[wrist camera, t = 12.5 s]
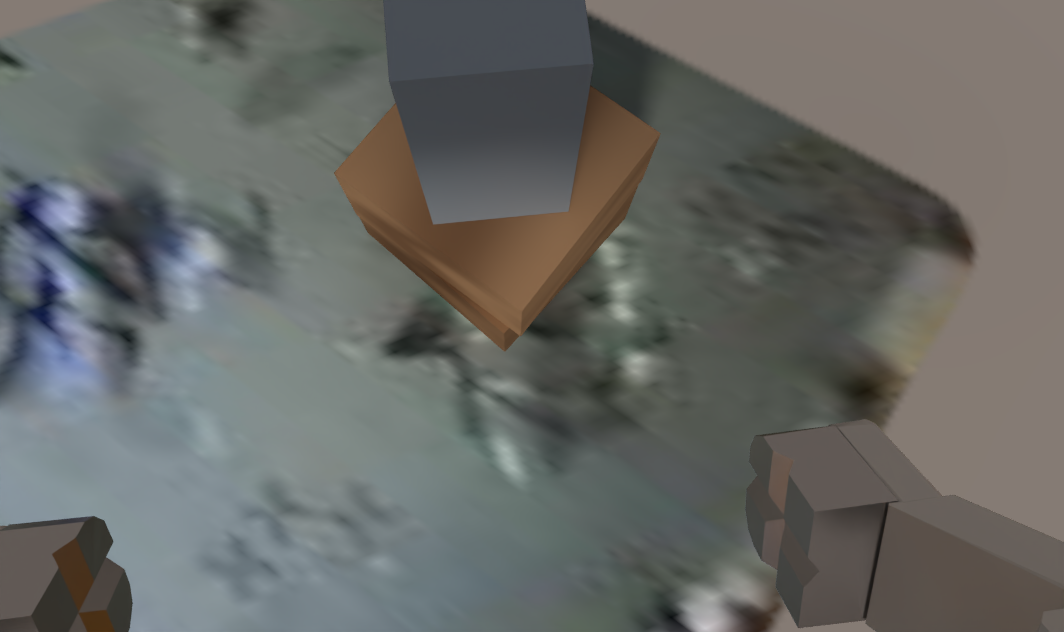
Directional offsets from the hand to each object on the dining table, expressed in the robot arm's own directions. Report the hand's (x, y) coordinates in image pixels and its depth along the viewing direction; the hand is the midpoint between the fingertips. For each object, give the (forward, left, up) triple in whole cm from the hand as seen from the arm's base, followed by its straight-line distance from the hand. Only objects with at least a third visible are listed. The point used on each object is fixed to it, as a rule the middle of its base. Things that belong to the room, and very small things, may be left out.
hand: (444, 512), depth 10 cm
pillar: (-6, +8, -11) cm, 15 cm away
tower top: (-6, +8, -15) cm, 18 cm away
